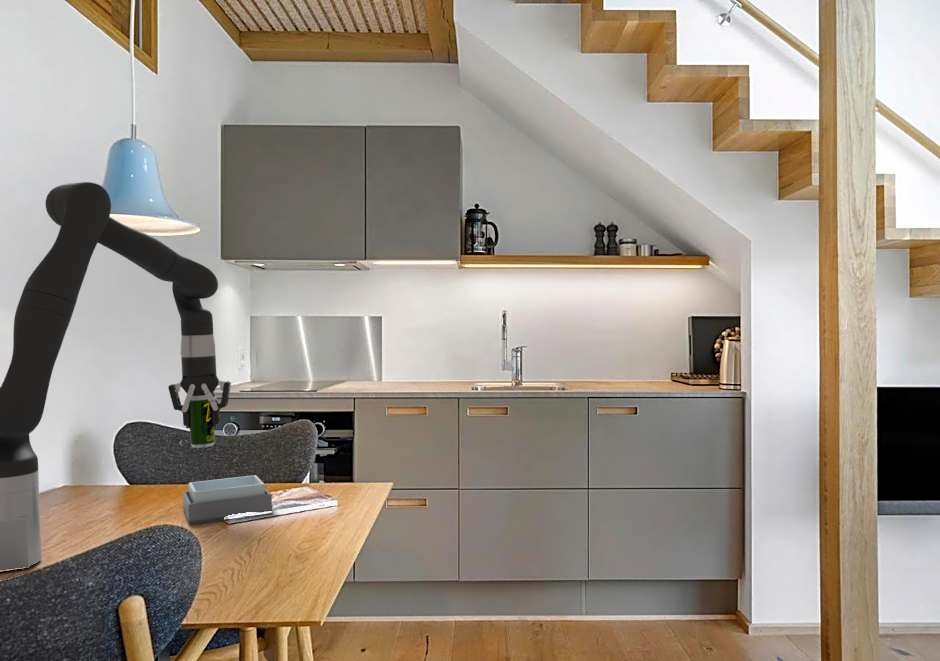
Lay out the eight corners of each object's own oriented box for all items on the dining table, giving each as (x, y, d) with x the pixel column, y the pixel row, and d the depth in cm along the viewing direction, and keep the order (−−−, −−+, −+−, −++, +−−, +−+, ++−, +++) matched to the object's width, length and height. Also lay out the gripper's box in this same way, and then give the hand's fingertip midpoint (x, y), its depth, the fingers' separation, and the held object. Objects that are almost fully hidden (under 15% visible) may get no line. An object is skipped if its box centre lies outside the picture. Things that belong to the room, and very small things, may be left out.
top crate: (265, 509, 174) (264, 483, 174) (194, 519, 167) (193, 492, 167) (256, 499, 184) (255, 475, 184) (189, 507, 177) (188, 482, 177)
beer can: (186, 448, 173) (184, 396, 173) (195, 444, 178) (193, 393, 178) (210, 447, 173) (207, 395, 173) (218, 443, 178) (215, 392, 178)
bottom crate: (272, 513, 173) (271, 494, 173) (189, 525, 165) (188, 504, 165) (261, 500, 186) (260, 482, 186) (183, 510, 178) (182, 491, 178)
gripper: (233, 352, 180) (236, 422, 180) (170, 355, 178) (173, 426, 178) (227, 354, 172) (231, 427, 173) (161, 357, 170) (165, 431, 171)
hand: (201, 426), depth 175 cm, fingers closed on beer can, 5 cm apart
